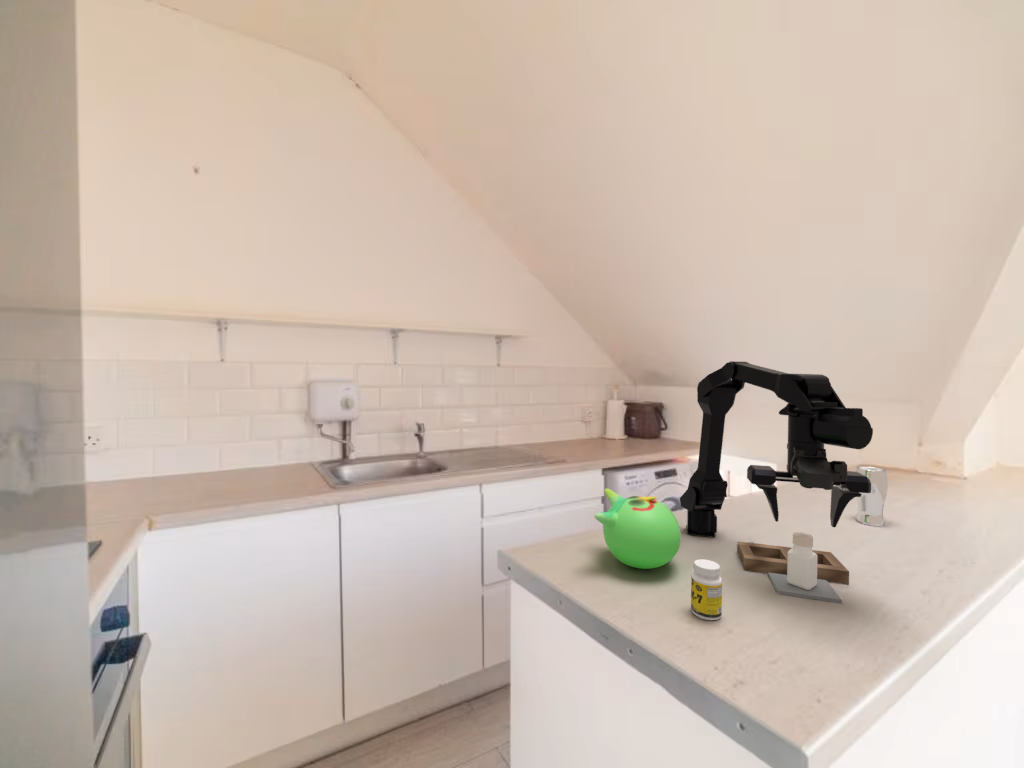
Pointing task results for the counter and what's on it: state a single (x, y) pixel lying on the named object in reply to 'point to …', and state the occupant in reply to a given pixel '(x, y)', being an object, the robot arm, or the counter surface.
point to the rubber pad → (818, 592)
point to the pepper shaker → (802, 562)
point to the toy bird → (640, 530)
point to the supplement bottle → (706, 590)
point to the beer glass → (872, 497)
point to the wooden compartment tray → (777, 558)
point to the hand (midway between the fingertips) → (804, 523)
